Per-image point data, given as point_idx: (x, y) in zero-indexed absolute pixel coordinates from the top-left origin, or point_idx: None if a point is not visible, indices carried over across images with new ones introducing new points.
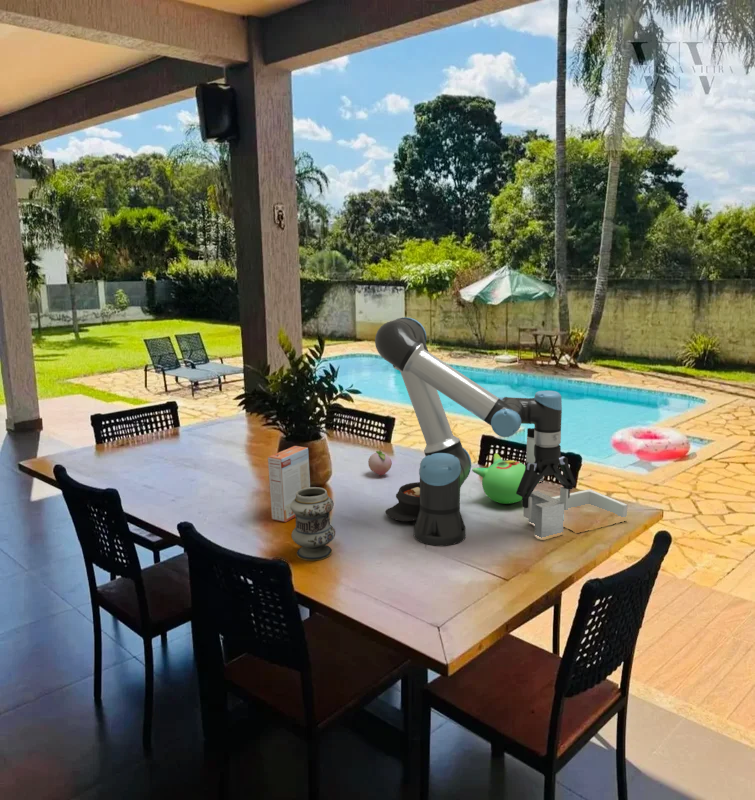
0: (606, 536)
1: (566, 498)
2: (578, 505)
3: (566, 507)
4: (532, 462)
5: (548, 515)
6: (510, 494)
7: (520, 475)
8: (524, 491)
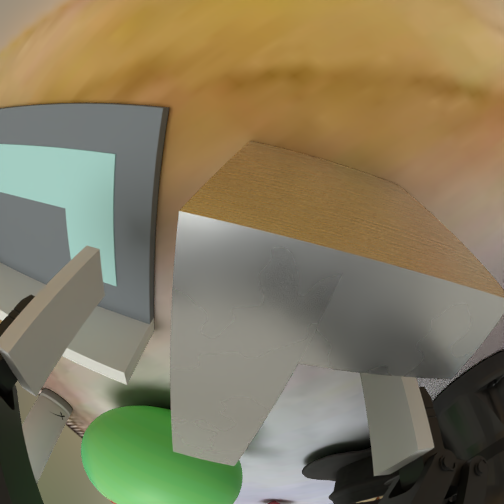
0: (95, 22)
1: (48, 299)
2: (18, 277)
3: (85, 258)
4: (48, 436)
5: (413, 229)
6: None
7: (140, 487)
8: (476, 491)
